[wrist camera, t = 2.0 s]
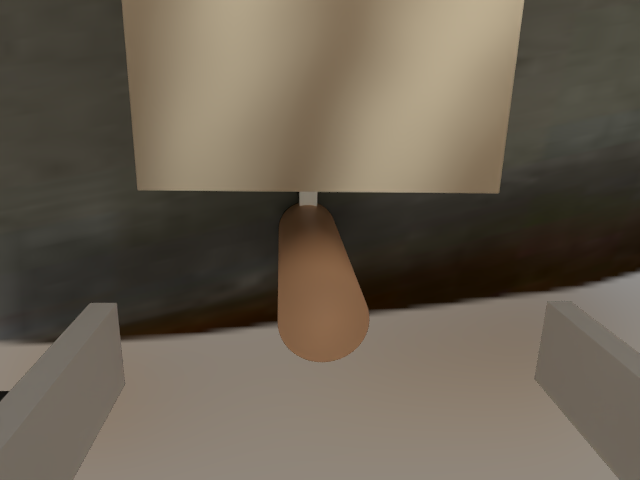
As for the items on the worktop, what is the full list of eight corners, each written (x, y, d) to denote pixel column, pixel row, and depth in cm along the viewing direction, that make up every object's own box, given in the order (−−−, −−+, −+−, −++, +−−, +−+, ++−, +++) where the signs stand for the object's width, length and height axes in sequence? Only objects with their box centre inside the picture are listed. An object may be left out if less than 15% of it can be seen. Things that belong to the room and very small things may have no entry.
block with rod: (250, 255, 27) (232, 363, 17) (245, -60, 23) (215, -182, 12) (361, 255, 28) (410, 360, 17) (376, -54, 23) (456, -167, 13)
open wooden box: (188, 152, 25) (137, 190, 16) (174, -129, 22) (98, -279, 13) (423, 155, 26) (498, 193, 17) (446, -113, 23) (555, -243, 14)
